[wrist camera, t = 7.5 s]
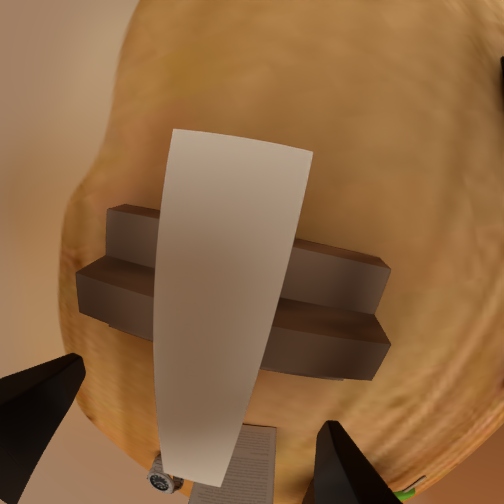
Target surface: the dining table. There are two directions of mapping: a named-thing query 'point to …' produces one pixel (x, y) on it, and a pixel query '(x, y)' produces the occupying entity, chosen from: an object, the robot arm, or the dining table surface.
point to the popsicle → (408, 491)
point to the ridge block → (288, 308)
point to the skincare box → (244, 471)
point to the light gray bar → (218, 288)
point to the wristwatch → (163, 478)
